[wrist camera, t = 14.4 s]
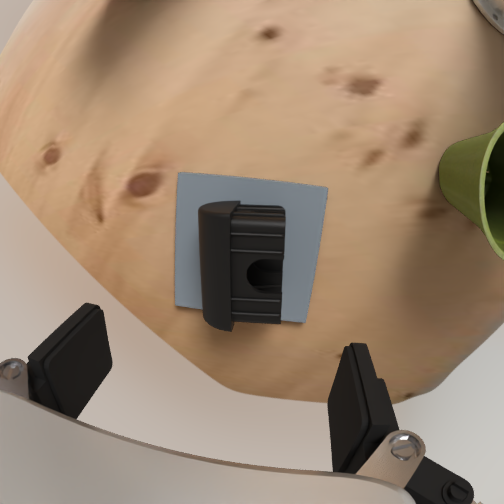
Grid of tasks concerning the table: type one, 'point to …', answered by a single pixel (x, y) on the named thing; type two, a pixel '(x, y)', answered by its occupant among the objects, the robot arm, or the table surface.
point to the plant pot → (477, 183)
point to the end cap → (241, 262)
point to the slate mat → (253, 193)
